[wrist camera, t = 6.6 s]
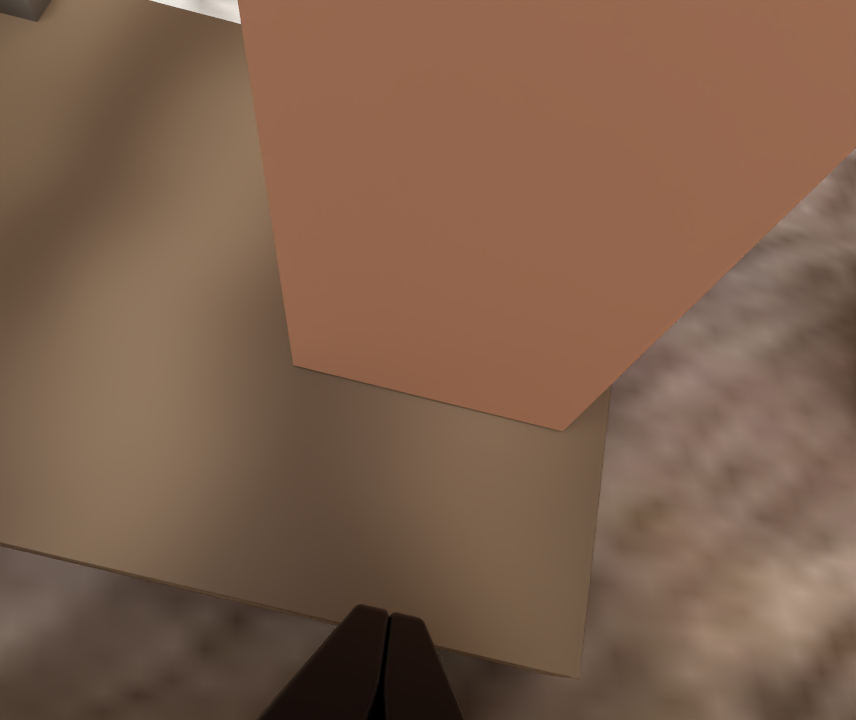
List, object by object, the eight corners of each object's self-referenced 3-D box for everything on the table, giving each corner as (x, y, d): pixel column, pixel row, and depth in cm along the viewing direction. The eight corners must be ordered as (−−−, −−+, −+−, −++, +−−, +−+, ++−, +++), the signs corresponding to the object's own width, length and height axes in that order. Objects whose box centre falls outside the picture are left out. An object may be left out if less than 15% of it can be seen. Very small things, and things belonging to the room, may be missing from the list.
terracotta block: (562, 431, 15) (1205, -191, 4) (293, 365, 15) (162, -486, 4) (592, 210, 17) (1040, -556, 6) (362, 151, 17) (409, -743, 6)
